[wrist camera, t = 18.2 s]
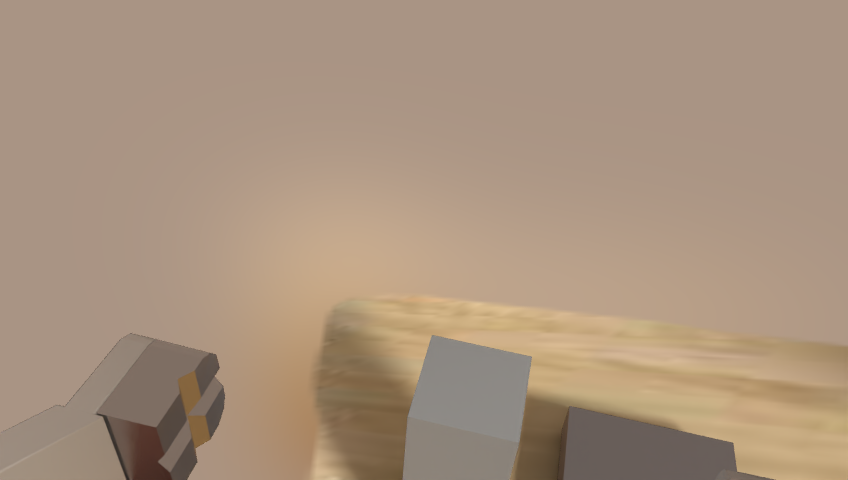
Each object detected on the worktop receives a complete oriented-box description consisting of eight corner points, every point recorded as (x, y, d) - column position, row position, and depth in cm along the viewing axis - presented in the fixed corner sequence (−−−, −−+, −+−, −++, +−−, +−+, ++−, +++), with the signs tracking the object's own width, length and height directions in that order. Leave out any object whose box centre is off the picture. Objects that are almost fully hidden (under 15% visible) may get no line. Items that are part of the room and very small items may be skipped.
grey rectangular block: (498, 488, 37) (531, 356, 30) (485, 570, 34) (519, 443, 27) (418, 469, 38) (432, 335, 31) (397, 546, 35) (407, 416, 27)
